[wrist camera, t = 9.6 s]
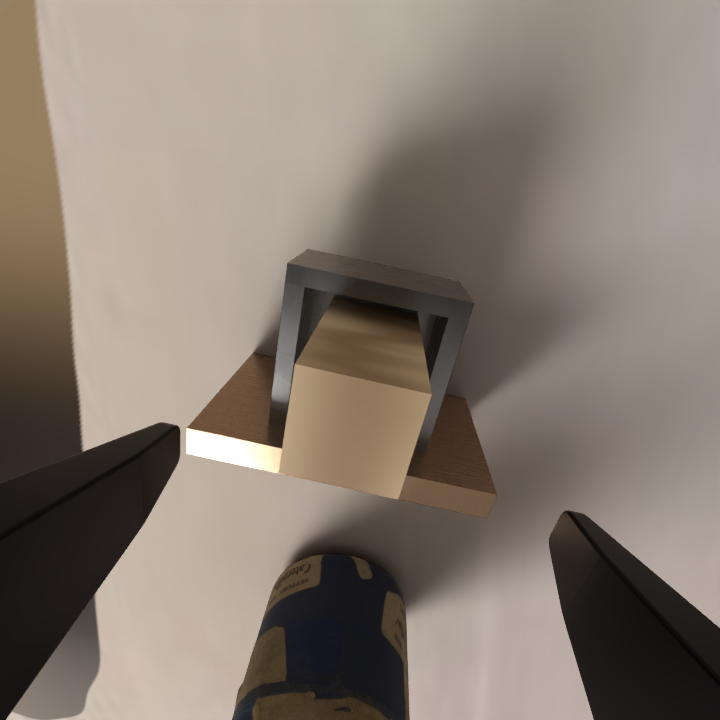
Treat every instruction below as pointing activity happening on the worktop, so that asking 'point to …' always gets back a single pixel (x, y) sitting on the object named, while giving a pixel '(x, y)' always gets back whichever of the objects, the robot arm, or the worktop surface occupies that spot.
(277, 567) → the worktop surface
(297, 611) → the canister
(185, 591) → the worktop surface
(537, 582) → the worktop surface
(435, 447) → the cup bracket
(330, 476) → the rail end
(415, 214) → the worktop surface
